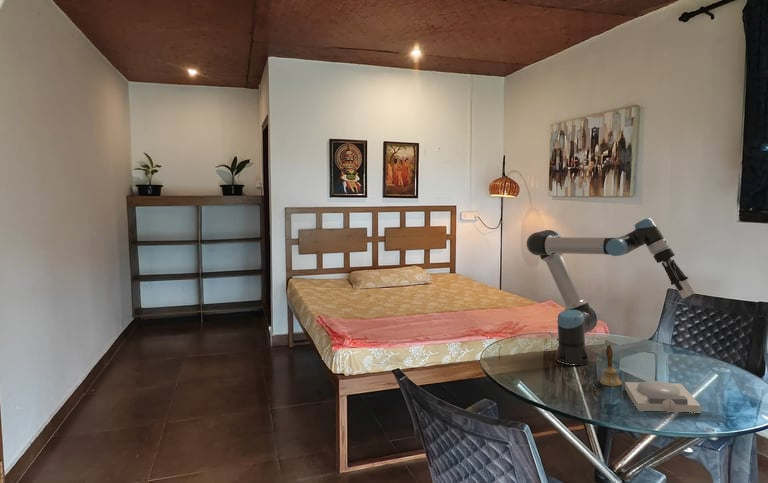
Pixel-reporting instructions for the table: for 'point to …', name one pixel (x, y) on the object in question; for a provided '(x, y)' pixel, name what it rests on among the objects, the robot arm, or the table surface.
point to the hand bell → (610, 371)
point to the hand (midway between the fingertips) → (689, 295)
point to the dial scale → (661, 397)
